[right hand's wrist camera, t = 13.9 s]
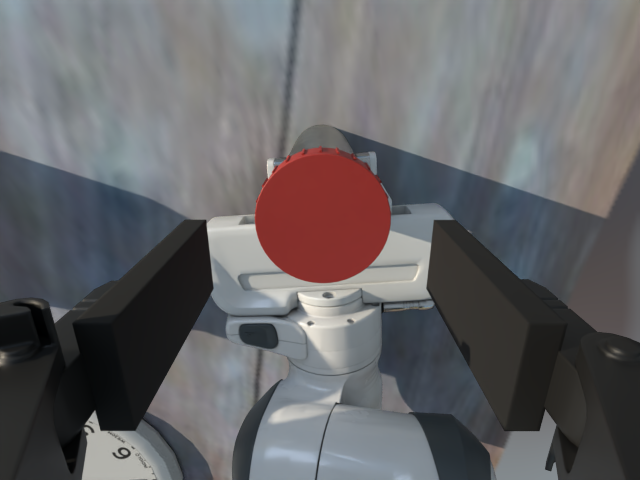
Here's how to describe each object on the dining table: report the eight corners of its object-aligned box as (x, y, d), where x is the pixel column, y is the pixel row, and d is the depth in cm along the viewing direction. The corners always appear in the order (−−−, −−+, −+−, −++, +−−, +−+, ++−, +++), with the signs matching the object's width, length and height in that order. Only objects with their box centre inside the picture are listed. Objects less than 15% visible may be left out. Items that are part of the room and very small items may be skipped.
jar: (355, 129, 35) (393, 170, 16) (344, 186, 36) (368, 279, 18) (297, 120, 34) (270, 151, 16) (290, 177, 36) (258, 264, 18)
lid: (398, 156, 18) (407, 164, 16) (371, 274, 20) (377, 293, 18) (267, 135, 17) (260, 140, 15) (254, 258, 20) (247, 275, 18)
